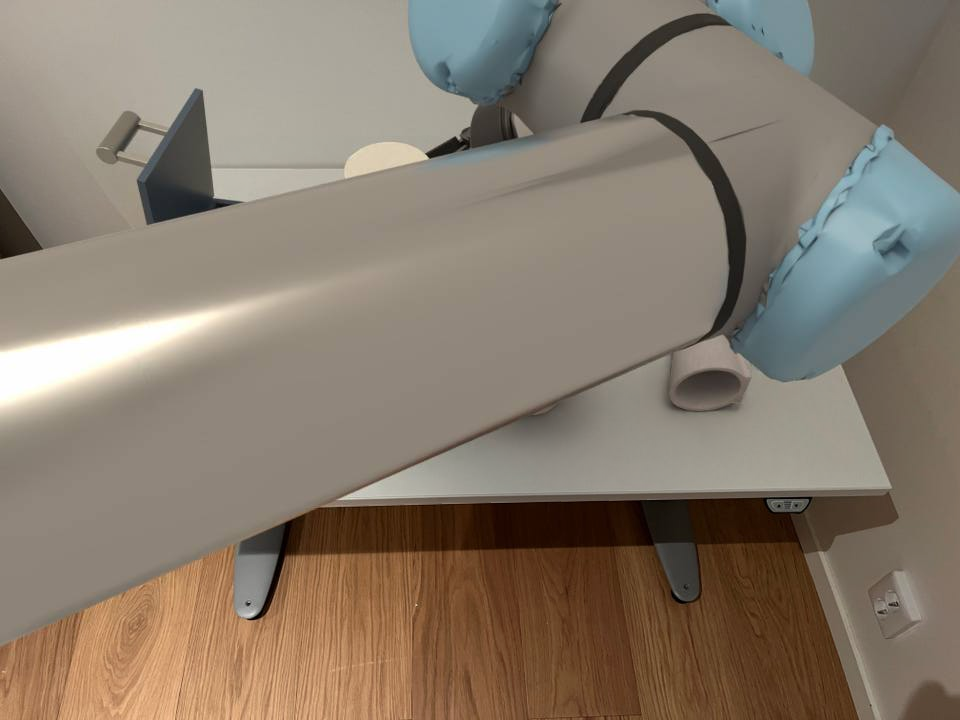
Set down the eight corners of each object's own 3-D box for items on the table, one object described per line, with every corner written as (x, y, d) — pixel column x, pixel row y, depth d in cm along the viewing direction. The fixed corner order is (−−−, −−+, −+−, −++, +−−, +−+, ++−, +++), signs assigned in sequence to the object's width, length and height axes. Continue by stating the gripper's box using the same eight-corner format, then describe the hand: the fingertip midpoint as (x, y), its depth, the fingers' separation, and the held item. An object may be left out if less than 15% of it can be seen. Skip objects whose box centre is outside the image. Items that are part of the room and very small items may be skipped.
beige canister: (382, 298, 59) (372, 211, 51) (343, 249, 62) (327, 160, 54) (449, 266, 62) (450, 178, 53) (408, 220, 65) (403, 131, 57)
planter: (638, 222, 91) (678, 367, 74) (702, 223, 91) (757, 367, 74) (628, 267, 97) (662, 411, 80) (688, 268, 97) (736, 411, 80)
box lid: (202, 89, 71) (135, 70, 70) (145, 182, 62) (68, 161, 61) (214, 195, 83) (157, 180, 82) (167, 284, 74) (103, 268, 73)
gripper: (485, 303, 38) (314, 346, 54) (653, 87, 51) (474, 174, 67) (401, 194, 35) (247, 275, 51) (602, -6, 48) (427, 109, 64)
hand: (375, 218), depth 59 cm, fingers open, 13 cm apart
